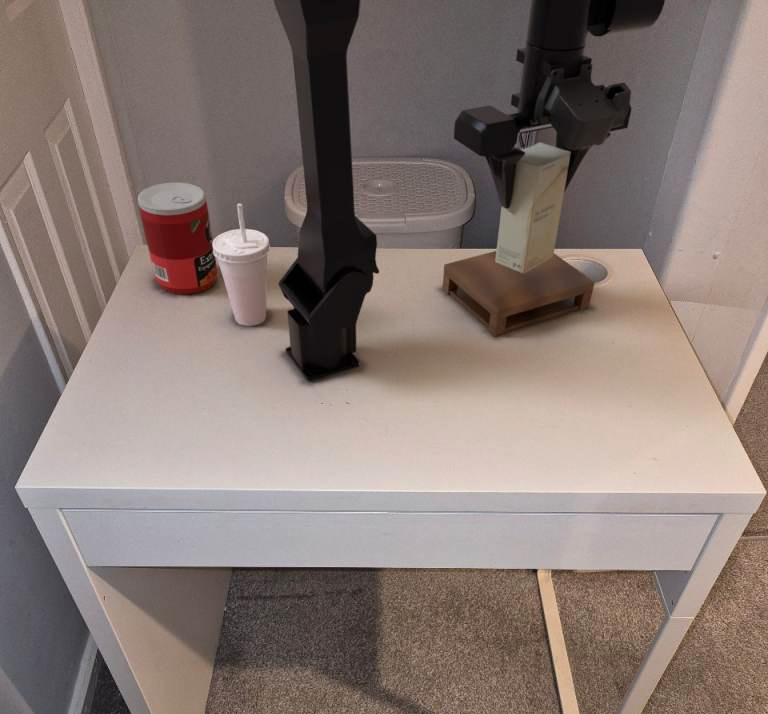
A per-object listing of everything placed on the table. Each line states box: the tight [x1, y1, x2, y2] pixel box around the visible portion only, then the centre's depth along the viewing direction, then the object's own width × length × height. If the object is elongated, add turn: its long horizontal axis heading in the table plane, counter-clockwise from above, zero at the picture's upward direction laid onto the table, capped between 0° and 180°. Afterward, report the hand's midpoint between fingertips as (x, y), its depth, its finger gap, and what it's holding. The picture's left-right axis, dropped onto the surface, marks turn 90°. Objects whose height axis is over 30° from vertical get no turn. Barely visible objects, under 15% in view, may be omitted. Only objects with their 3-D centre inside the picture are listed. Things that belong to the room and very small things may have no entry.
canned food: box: [137, 182, 219, 295], centre depth 94 cm, size 8×8×11 cm
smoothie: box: [212, 203, 271, 327], centre depth 87 cm, size 6×6×14 cm
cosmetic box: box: [495, 141, 571, 274], centre depth 86 cm, size 6×4×12 cm
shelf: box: [442, 250, 596, 337], centre depth 94 cm, size 14×12×4 cm
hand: (532, 201), depth 85 cm, fingers closed on cosmetic box, 7 cm apart
